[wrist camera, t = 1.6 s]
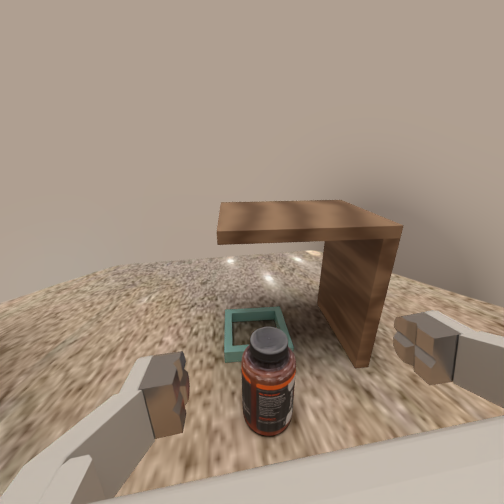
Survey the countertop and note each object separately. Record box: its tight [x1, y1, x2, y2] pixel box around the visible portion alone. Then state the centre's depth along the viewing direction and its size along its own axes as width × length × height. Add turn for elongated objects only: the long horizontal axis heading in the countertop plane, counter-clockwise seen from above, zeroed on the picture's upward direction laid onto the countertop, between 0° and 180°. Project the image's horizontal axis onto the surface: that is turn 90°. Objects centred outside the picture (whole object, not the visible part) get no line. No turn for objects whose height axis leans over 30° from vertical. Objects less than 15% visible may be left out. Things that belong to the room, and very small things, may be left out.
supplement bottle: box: [242, 327, 296, 436], centre depth 27 cm, size 6×6×11 cm
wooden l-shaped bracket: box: [217, 200, 403, 368], centre depth 37 cm, size 21×16×22 cm
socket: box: [224, 306, 294, 363], centre depth 40 cm, size 10×10×2 cm
